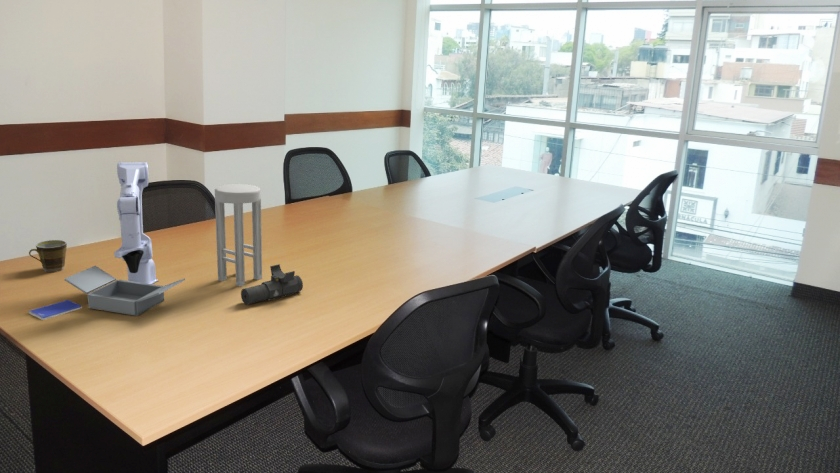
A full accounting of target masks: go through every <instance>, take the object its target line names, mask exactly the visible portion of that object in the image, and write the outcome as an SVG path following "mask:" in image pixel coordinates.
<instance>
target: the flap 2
mask: <svg viewBox="0 0 840 473" xmlns="http://www.w3.org/2000/svg"><path fill="white" fill-rule="evenodd" d="M185 281H186V278H182V279H179V280H176V281H174V282H171V283H168V284H165V285H162V286H163V287H161V288H159V289H157V290H155V291H154V292H152V293H150V294H148V295H146V296H144V297H142V298H141V299H139V300H137V301H138V302H140V301H142V300H145V299H148V298H150V297H153V296H156V295H159V294H161V293H163V292H164V293H165V292H166V291H168V290H169V289H171V288H174V287H175V286H177V285H179V284H181V283H183V282H185Z"/></svg>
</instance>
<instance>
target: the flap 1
mask: <svg viewBox="0 0 840 473" xmlns="http://www.w3.org/2000/svg"><path fill="white" fill-rule="evenodd" d="M116 280H117V278H116V277H114V276H113V275H112V274H110V273H108V272H106V271H104V270H103V269H102V268H100V267H99V266H97V265H94V266H90V267H88V268H86V269H84V270H81V271H79V272H76V273H74V274H71V275H69V276H67V277H64V281H65V282H67V283H68V284H70V285H71V286H73V287H75V288H76V289H78V290H80V291H81V292H83V293H84V294H86V295H88V293H91V292H93V291H95V290H97V289H99V288H101V287H103V286H105V285H108V284H110V283H112V282H114V281H116Z"/></svg>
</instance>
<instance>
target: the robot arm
mask: <svg viewBox="0 0 840 473" xmlns="http://www.w3.org/2000/svg"><path fill="white" fill-rule="evenodd" d="M148 164H149V163H148V162H146V161H143V162H142V161H141V162H140V161H138V162H136V161H134V162H133V161H131V162H129V161H127V162H126V161H125V162H124V161H123V162H121V161H119V162H117V165H116V169H117V170H116V172H117V178H118V181H119V184H120V187H121V188H120V195H119V198H117V199H116V200H117V201H116V208H117V209H116V210H117V214H118V220H119V223H120V224H119V225H120V234H121V246H120V247H119V248H118V249H117V250H114V252H113V253H114V254H113V255H114V258H117V259H122V260H123V262H125V264H126V267H127V268H126V269H127V270H126V271H127V272H126V273H127V281H133V282H140V283H147V284H154V283H157V282H159V279H158V278H156V277H157V273H156V264H155V261H154V260H153V245H152V238H150V237H149V236H148V235H147V234H145V233H144V225H143V223H144V222H143V205H142V204H143V196H142V195H143V192H144V191H143V190H144V189H145V188H146V187H147V188H148V186H149V182H150V180H149V176H150V175H149V172H150V171H149V165H148Z"/></svg>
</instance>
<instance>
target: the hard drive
mask: <svg viewBox="0 0 840 473" xmlns="http://www.w3.org/2000/svg"><path fill="white" fill-rule="evenodd" d="M80 308H81V309H82V305H81V304H78V303H77V302H74V301H71V300H70V299H65V300H63V301H59V302H56V303H51V304H48V305H45V306H40V307H38V308H33V309H31V310H28V314H30V315H31V316H34V317H35V318H38V319H40V320H42V321H45V320H48V319H52V318H54V317H57V316H61V315H64V314H67V313H71V312H74V311H77V310H80Z"/></svg>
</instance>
